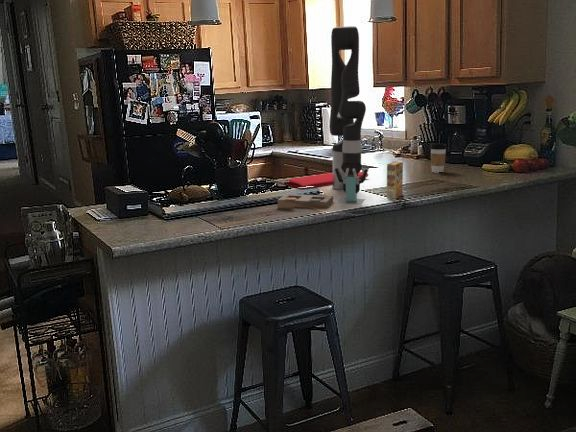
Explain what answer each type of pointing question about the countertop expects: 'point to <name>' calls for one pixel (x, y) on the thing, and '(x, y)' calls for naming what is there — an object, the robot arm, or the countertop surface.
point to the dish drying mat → (314, 180)
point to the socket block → (304, 201)
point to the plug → (351, 188)
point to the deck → (343, 201)
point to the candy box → (394, 179)
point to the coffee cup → (438, 157)
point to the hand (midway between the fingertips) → (351, 192)
